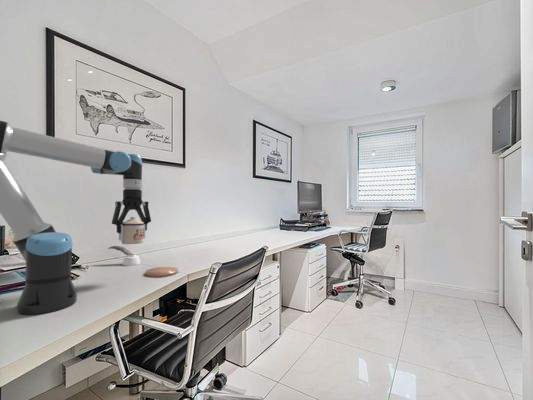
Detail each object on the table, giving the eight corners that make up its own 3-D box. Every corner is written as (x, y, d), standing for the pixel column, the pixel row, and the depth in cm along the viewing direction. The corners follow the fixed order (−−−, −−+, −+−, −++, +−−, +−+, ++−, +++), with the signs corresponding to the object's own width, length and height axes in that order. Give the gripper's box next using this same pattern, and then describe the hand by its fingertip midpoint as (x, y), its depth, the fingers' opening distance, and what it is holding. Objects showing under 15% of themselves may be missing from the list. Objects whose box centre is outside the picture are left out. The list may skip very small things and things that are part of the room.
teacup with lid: (136, 244, 113) (136, 217, 113) (116, 244, 114) (116, 217, 114) (151, 240, 125) (151, 216, 125) (132, 240, 126) (133, 216, 126)
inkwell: (136, 265, 143) (136, 247, 143) (102, 265, 142) (102, 247, 142) (143, 262, 152) (143, 244, 152) (111, 262, 151) (111, 244, 151)
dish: (155, 279, 118) (155, 276, 119) (139, 273, 128) (139, 270, 128) (184, 272, 130) (184, 270, 130) (167, 267, 140) (167, 265, 140)
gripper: (110, 187, 108) (109, 243, 107) (159, 189, 125) (159, 237, 125) (102, 188, 112) (102, 241, 112) (151, 190, 129) (151, 235, 129)
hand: (132, 239), depth 118 cm, fingers closed on teacup with lid, 9 cm apart
